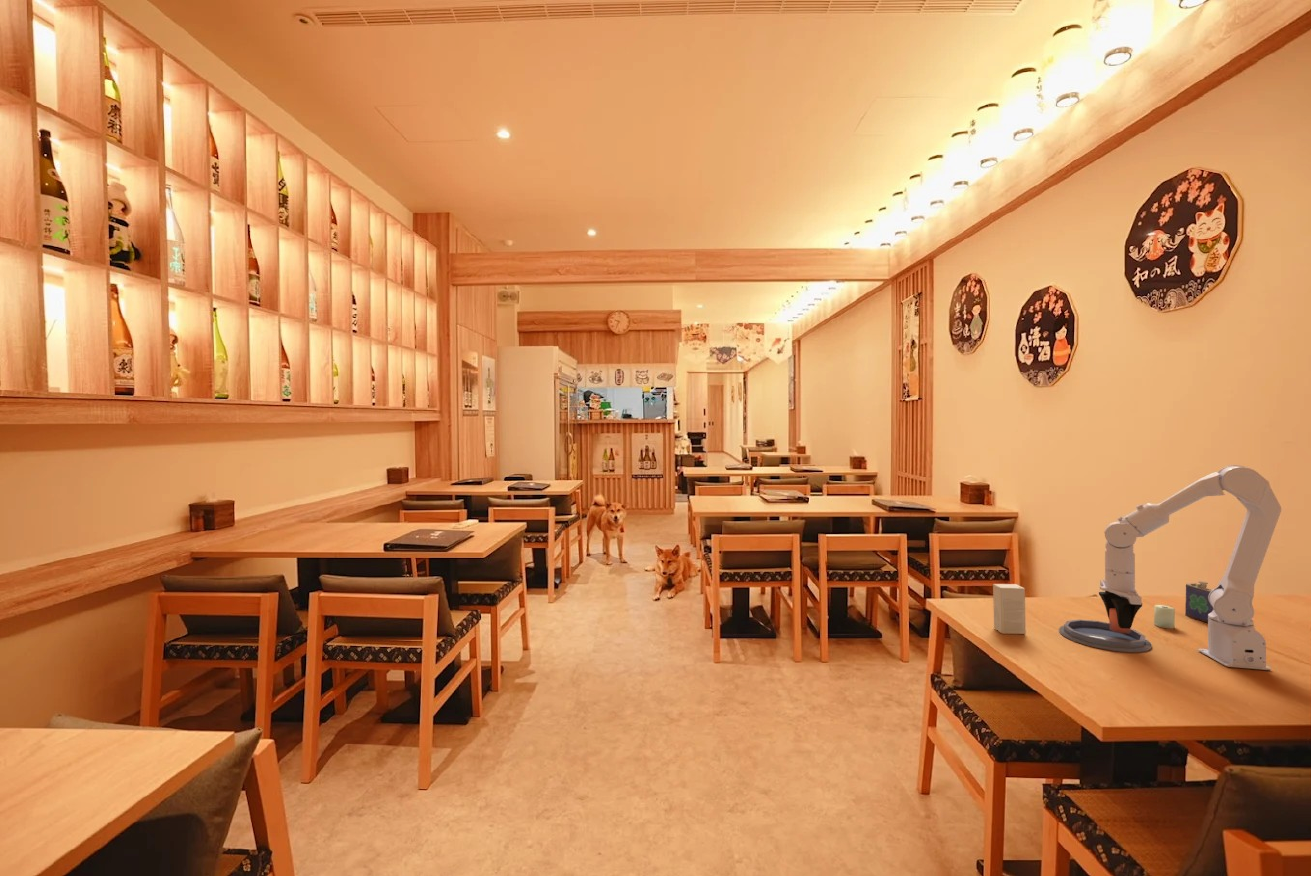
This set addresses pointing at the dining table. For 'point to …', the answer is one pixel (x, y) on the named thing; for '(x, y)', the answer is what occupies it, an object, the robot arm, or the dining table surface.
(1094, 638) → the round tray
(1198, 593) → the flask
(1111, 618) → the vermilion bead
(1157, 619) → the sage bead
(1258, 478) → the robot arm
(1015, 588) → the skincare box
